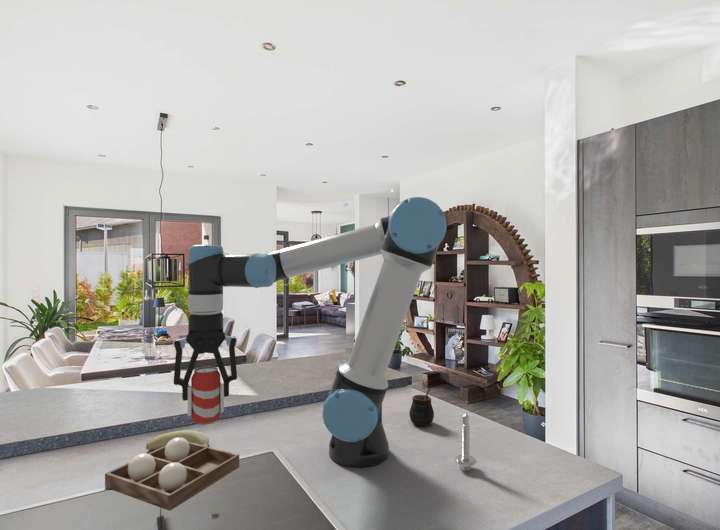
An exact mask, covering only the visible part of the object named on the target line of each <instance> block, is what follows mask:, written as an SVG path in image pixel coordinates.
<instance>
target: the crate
mask: <svg viewBox="0 0 720 530" xmlns="http://www.w3.org/2000/svg"><path fill="white" fill-rule="evenodd" d="M188 443H189V446H190V451H189V454H188V456H187V457H186V458H184V459H182V460H180V461H178V462H177V463H180V464H182V465H183V466H184V467H185V468H186V471H187V478H186V481H185V483H184V484H183V486H182V487H181V488H179V489H177V490H175V491H172V492H168V491H165V490H163V489H162V488H161V487H160V485H159V482H158V476H159V473H160V471H161V470H162V468H163V467H164V466H166V465H167V464H169V463H172V462H171V461H169V460H168V459H167V458H166V456H165V447H166V446H164V447H161V448H159V449H157V450H152V451H151V452H149V453H147V454H150V455H151V456H153V457H154V459H155V462H156V468H155V471H154V473H153V474H152V475H151V476H149V477H147V478H145V479H143V480H141V481H135V480H133V479H131V478H130V476H129V474H128V465H129V463H130V461H129V462H127V463H125V464H123V465H121V466H118V467H116V468H114V469H112V470H109V471H108V472H106V473H104V488H106V489H109V490H111V491H115V492H116V493H120V494H121V495H124V496H125V495H126V496H128V497H131V498H133V499H135V500H139V501H141V502H144V503H147V504H150V505H151V506H155V507H158V508H160V509H164V510H166V511H169V512H171V511H172V510H174V509H175V508H177V507H179V506H180V505H181V504H183V503H185V502H186V501H188V500H190V499H192V498H193V497H194V496H196V495H197V494H199V493H201V492H203V491H204V490H206V489H207V488H208V487H210V486H213V484H215V483H216V482H219V481H220V480H221V479H223V478H224V477H226V476H228V475H229V474H231V473H233V472H234V471H236V470H237V469H239V468H240V454H238V453H233V452H230V451H226V450H223V449H219V448H215V447H211V446H209V445H208V446H204V445H200V444H196V443H192V442H188Z"/></svg>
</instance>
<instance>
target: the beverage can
mask: <svg viewBox="0 0 720 530" xmlns="http://www.w3.org/2000/svg"><path fill="white" fill-rule="evenodd" d="M193 372H194V373H192V375H191V377H190V379H191V381H190V382H191V383H190V384H191V399H192V415H191V421H192V422H194V423H195V424H197V425H199V426H200V425H201V426H202V425H204V426H206V425H211V424H214V423H215V422H217V421H218V420H220V418H221V412H220V381H221V373H220V371H219V367H218V366H217V367H216V366H210V365H209V366H201V367H197V368H194V369H193Z"/></svg>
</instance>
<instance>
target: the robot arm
mask: <svg viewBox="0 0 720 530" xmlns="http://www.w3.org/2000/svg"><path fill="white" fill-rule="evenodd" d="M447 226H448V225H447V218H446V216H445V213H444V211H443V209H442V208H441V206H439V205H438V204H437V203H436V202H435V201H433V200H431V199H429V198H427V197H422V196H413V197H408V198H406V199H404V200H402V201H401V202H399V203H398V204H397V205H396V206H395V207H394V209H393V210H392V211H391V213H390V215H388V216H385V217H380V218H379V219H378V220H377V222H376V223H374V224H372V225H367V226H364V227H360V228H356V229H353V230H348V231H346V232H342V233H337V234H334V235H331V236H326V237H323V238H320V239H316V240H311V241H308V242H303V243H301V244H300V243H299V244H296V245H293V246H290V247H285V248H282V249H279V250H278V249H277V250H274V251H271V252H266V253H230V254H229V253H224V248H223V246H222V245H218V244H217V245H216V244H214V245H213V244H193V245H192V246H190V247H189V249H188V259H187V260H188V261H187V268H188V269H187V270H188V295H187V298H188V299H187V301H188V302H187V303H188V305H187V306H188V312H189V314H188V317H187V319H188V323H187V324H188V327H187V329H188V330H187V331H188V332H187V334H186V336H185V337H183V338H180V339H179V338H176V339H175V340H174V342H173V346H174V349H175V362H174V373H173V384H174V385H175V386H180V387H181V388H182V391H181V392H182V393H181V395H182V401H187V417H190V416H191V417H192V399H191V383H190V379H191V378H192V375H193V372H194V370H195V365H196V362H197V360H198V357H199V355H201V354H202V355H203V354H213V356H214V359H215V361H216V365H217V368H218V371H219V373H220V377H221V379H222V380H220V414H221V413H224V412H225V397H229V395H230V383H231V382H232V381H235V380H237V379H238V372H237V371H238V369H237V361H236V360H237V359H236V344H237V340H238V339H237V337H236V336H235V335H232V336H229V335H226V333H225V331H224V314H223V312H222V311H223V310H224V288H225V287H229V288H230V287H235V288H237V287H238V288H253V289H254V288H255V289H258V288H268V287H272V286H273V284H275V283H276V282H279V281H282V280H287V279H290V278H294V277H296V276H301V275H305V274H309V273H313V272H317V271H320V270H324V269H328V268H332V267H338V266H340V265H341V266H342V265H345V264H347V263H352V262H356V261H361V260H365V259H368V258H372V257H375V256H379V255H381V256H382V258H383V263H382V265H381V267H380V271H379V274H378V276H377V278H376V281H375V284H374V286H373V290H372V293H371V296H370V298H369V301H368V304H367V306H366V310H365V313H364V315H363V318H362V321H361V325H360V327H359V330H358V333H357V335H356V338H355V342H354V344H353V346H352V350H351V353H350V355H349V358H348V361H343V362H339V363H337V365H336V368H335V372H334V373H335V377H334V379H333V382H332V385H331V388H330V391H329V394H328V396H327V397H326V398H325V400H324V402H323V406H322V420H323V424H324V425H325V426H324V427H326V429H327V431H328V432H329V434H331V438H330V440H329V443H328V449H329V450H328V455H329V457H330V459H331V460H332V461H334V462H335V463H338V464H339V465H342V466H346V467H353V468H364V467H365V468H366V467H371V466H375V465H378V464H382V463H383V462H384V461H387V459H388V458H389V455H390V450H389V449H390V444H389V441H388V437H387V436H386V435H387V434H386V432H385V429H384V425H383V402H384V399H385V396H386V393H387V390H388V388H389V383H388V380H387V378H386V373H387V370H388V367H389V364H390V361H391V360H392V356H393V353H394V350H395V348H396V345H397V342H398V340H399V337H400V333H401V331H402V328H403V327H404V326H403V325H404V322H405V319H406V317H407V314H408V311H409V309H410V306H411V303H412V301H413V298H414V295H415V291H416V289H417V286H418V283H419V281H420V278H421V275H422V274H423V273H424V272H426V271H429V270H430V269H431V268H432V265H433V262H434V260H435V258H436V255H437V252H438V249H439V247H440V244H441V243H442V241H443V240H444V238H445V236H446V233H447V228H448V227H447ZM224 341H225V342H226V346H228V352H229V354H228V355H229V363H230V364H229V365H230V374H228V372H227V369H226V366H225V364H224V360H223V358H222V355H221V353H220V350H219V348H220V346H221V345H222V344H223V343H224ZM186 343H188V345H189V347H190V348H192V350H193V351H192V354H191V357H190V359H189V362H188V365H187V369H186V371H185V375H184V377H183V378H181V373H182V371H181V370H182V360H183V359H182V358H183V349H184V348H185V347H186Z"/></svg>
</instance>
